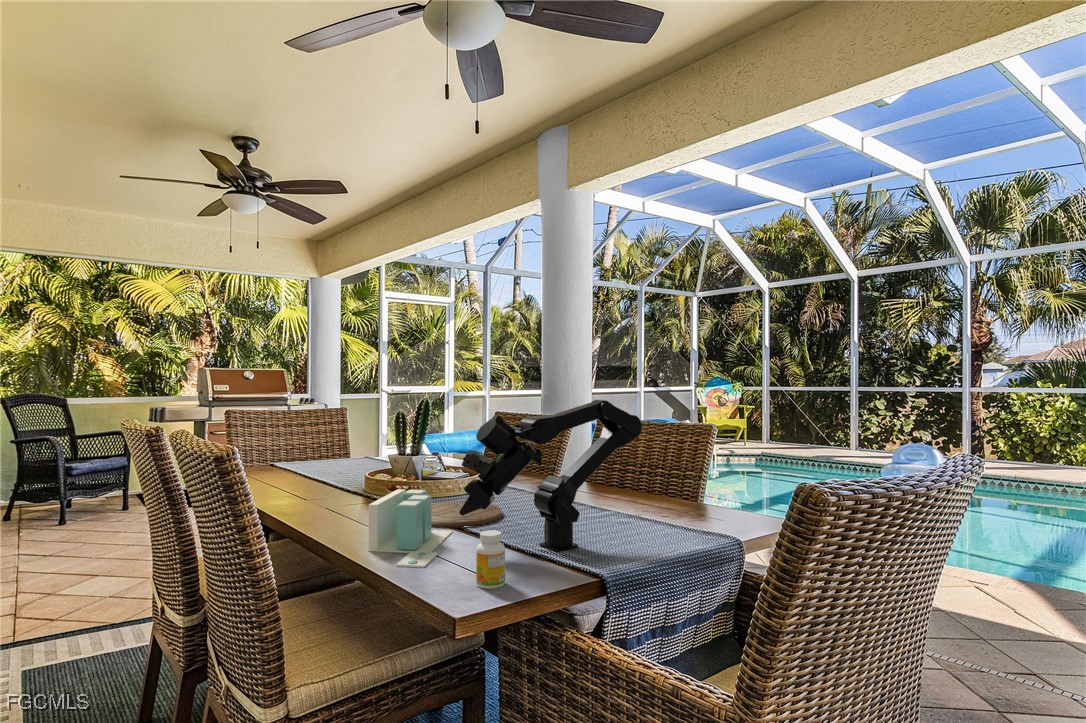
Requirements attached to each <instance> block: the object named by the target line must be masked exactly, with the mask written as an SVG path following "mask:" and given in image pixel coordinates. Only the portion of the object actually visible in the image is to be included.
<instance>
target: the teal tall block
mask: <svg viewBox="0 0 1086 723" xmlns="http://www.w3.org/2000/svg"><path fill="white" fill-rule="evenodd" d="M422 544H423V503H421V501H403V502H401V503H400V504H398V506H397V509H396V549H408V550H416V549H418V548H419V547H420V546H421V545H422Z"/></svg>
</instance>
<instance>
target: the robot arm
mask: <svg viewBox="0 0 1086 723" xmlns="http://www.w3.org/2000/svg"><path fill="white" fill-rule="evenodd" d="M596 420H597V421H599V423H600V424H601V425H603V427H602V430H601V435H600V437H598V438H597V439H596V440H595V441H594V442H593V443H592V444H591V445H590V447H588V448H587V450H585V452H584V453H582V454H581V456H580V457H578V458H577V460H576V461H574V463H572V464H571V466H569V467H568V469H566V470H565V471H564V473H563V474H561V475H560V476H558V477H557V476H554V475H548V476H547V477H546V478H545V479H544V481H543V482H542V483H541V484H539V485H537V486H536V488H537V490H536V491H535V492H534V494H533V496H534V498H533V503H534V506H535V508H536V509H537V510H538V512H539V515H540V517H541V518H544V526H543V527H544V534H543V536H544V542H540V543H539V546H541V547H543V548H546V549H549V550H551V551H554V552H560V551H566V550H569V549H573V548H578V547H579V544H577V543H576V542H573V541H574V537H573V536H574V531H573V530H574V529H573V528H574V526H573V525H574V523H577V522H578V520H579V517H580V511H578V509H577V508H576V507H575V506H574V505H573V503H574V502H575V499H576V495H577V491H578V490H579V488H581V486H583V484H584V483H585V482H586V481H587V480H588V479H589V478H590V477H591V476H592V475H593V474H594V473H595V472H596V471H597V469H599V468H600V467H601V466H602V464H604V462H606V460H608V458H609V457H610V456H611V455H612V454H613V453H614V452H615V451H616V450H617V449H619V448H622V447H624V446H627V445H629V444H630V443H632V442H633V441H634V440H636V439H637V438H638V437H639V436H640V435H641V434H642V421H641V419H640V417H638V415H635V414H630V413H628V412H627V411H625V410H624V409H623V410H622V409H621V408H619V407H617V406H615V405H614V404H613V403H611V402H609V401H608V400H606V399H605V400H603V399H594V400H592V401H591V402H588V403H585V404H582V405H579V406H576V407H573V408H570V409H567V410H563V411H560V412H557V413H554V414H553V413H552V414H543V415H533V416H526V417H524V418H522V419H521V420H520V423H517V424H515V425H512V426H510V425H509V424H508V423H507V422H506V421H505V420H504V419H503V418H502V417H501V416H500V415H496V414H494V415H493V416H492V417H491V418H490V419H489V420H487V421H486V422H485V423H484V424H483V425H481V426H480V427H479V429H478V430H477V433H476V436H475V439H476V440H477V441H478V442H479V443H481V445H484V447H486V448H487V449H488V450H489V451H490V452H492V453H493V454H494V455H496V456H498V455H499V456H498V457H496V458H495V459H490V458H489V457H487V456H484V455H483V454H480V452H477V451H475V450H473V449H471V450H469V451H467V452H466V454H465V456H464V457H463V458H462V460H463V461H462V463H461V467H463V468H464V469H469V470H471V471H473V472H475V473H477V474H478V475H477V477H478V479H475V478H473V479H472V480H471V481H469V482H468V483H467V485H465V486H464V488H463V490H464V491H465V493H466V494H467V495H468V498H466V500H465V501H464V502H465V503H464V505H463V507H462V508H461V510H460V511H459V513H460V514H461V515H462V516H463V515H465V514H468V513H470V512H473V511H475V510H478V509H480V508H482V509H484V510H485V509H486V508H487V507H488V506H489V505H490V504H492V503H493V502H494V501H495V495H496V496H500V495H501V494H502V493H503V492H504V491H505V490H506V489H507V488H508V486H509V485H510V483H511V482H512V481H514V479H516V477H517V476H519V474H521V473H522V471H524V469H525V468H526V467H527V466H529V465H530V464H531V463H532V461H534V462H535V463H537V465H539V466H541V465H542V463H543V461H542V455H543V452H542V450H541V449H540V448H534V447H532V446H531V445H530V444H535V445H544V444H547V443H549V442H551V441H552V440H554V439H556V438H558V436H559V435H560V434H561V433H563V432H564V431H566V430H567V431H568V430H570V429H573V428H576V427H579V426H581V425H584V424H587V423H590V422H593V421H596ZM518 439H521V440H522V441H520V440H518ZM528 443H530V444H528Z"/></svg>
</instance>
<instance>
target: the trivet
mask: <svg viewBox="0 0 1086 723" xmlns="http://www.w3.org/2000/svg"><path fill="white" fill-rule="evenodd" d="M465 502H466V501H444V502H436V503H435V502H434V503H431V528H434V529H460V528H459V527H464V526H475V527H479V526H478V525H481V526H484V525H483V524H486V525H489V524H492V523H491V522H493V523H495V522H497V521H499V520H500V519H501V518H502V517H503V516H502V509H501V507H499V506H497V505H495V504H492V503H491V504H490V505H489V506H488V507H487V508H486V509H485V510H484V509H482V508H480V509H478V510H475V511H473V512H470V513H468V514H465V515H463V516H462V515H461V514H460V513H459V511H460V510H461V508H462V507H463V505H464V503H465ZM498 519H499V520H498ZM496 520H497V521H496Z"/></svg>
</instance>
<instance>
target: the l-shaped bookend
mask: <svg viewBox="0 0 1086 723" xmlns="http://www.w3.org/2000/svg"><path fill="white" fill-rule="evenodd" d="M405 492H407V491H406V489H401V488H399V489H396V490H394V491H392V492H390V493H388V494H386V495H384V496H382V497H381V498H378V499H377V500H375V501H372V502H371V503H369V504H368V552H375V551H376V552H378V553H381V552H382V553H400V554H402V553H404V554H405V553H407V554H409V553H410V552H428V553H433V551H434V550H435V549H436V548H438V546H440V545H441V544H442V543H443V542H444V541H445V540H446V539H447V538H448V537H449V536H451V534H452V533H453V532H454V531H453V530H435V529H433V530H432V529H431V537H430V538H429V539H428V540H427V541H426V542H423V544H422V545H421V546H420V547H419V548H418V549H416V550H408V549H396V509H397V506H398V504H400V503H401V502H403V494H405ZM376 552H375V553H376Z"/></svg>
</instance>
